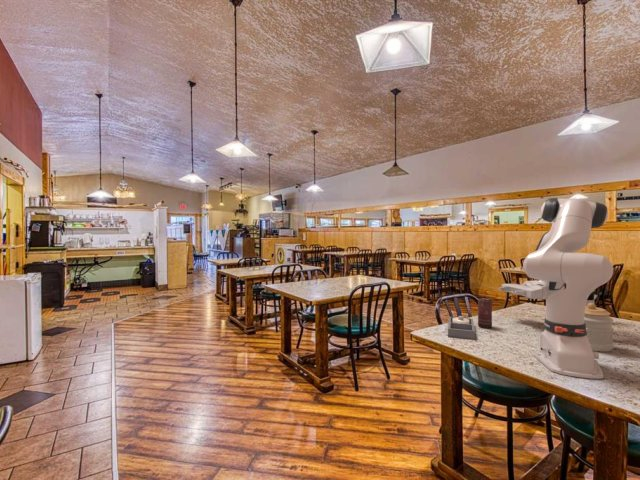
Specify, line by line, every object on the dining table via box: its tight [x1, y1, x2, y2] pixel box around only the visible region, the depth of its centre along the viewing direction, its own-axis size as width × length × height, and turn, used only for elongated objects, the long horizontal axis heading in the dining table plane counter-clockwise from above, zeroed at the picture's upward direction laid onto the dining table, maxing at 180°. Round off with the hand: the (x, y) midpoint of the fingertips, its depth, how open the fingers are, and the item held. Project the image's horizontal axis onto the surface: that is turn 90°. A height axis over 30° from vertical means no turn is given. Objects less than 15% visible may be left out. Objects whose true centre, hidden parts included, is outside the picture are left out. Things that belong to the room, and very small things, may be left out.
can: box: [477, 297, 494, 329], centre depth 157 cm, size 6×6×14 cm
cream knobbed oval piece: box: [452, 315, 470, 324], centre depth 156 cm, size 8×8×4 cm
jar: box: [584, 302, 614, 353], centre depth 129 cm, size 13×13×18 cm
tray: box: [447, 316, 476, 340], centre depth 151 cm, size 22×11×4 cm, turn 157°
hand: (507, 291), depth 159 cm, fingers open, 8 cm apart
